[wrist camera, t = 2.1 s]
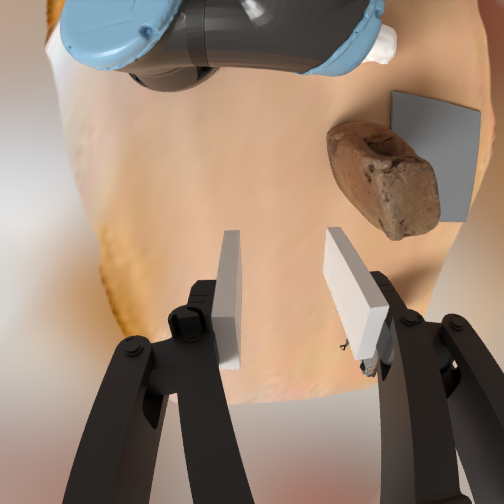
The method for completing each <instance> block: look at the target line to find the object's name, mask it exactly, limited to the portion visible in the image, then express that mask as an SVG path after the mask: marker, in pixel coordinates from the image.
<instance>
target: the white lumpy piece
mask: <svg viewBox="0 0 504 504" xmlns="http://www.w3.org/2000/svg"><path fill="white" fill-rule="evenodd" d="M396 50H397V35H396V32H395V30H394V29H393V28H391V27H389V26H387V25H384V24H382V26H381V29H380V32H379V35H378V37H377V40H376V42H375V44H374V45H373V47H372V49H371V51H370V52H369V54H368V55H367V56H366V58H365V59H364V60H363V62H362V63H365V62H367V61H376V62H378V63H380V64H389V61H390V60H391V59H392V58H393V57H394V56H395V54H396ZM362 63H361V64H362Z"/></svg>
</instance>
